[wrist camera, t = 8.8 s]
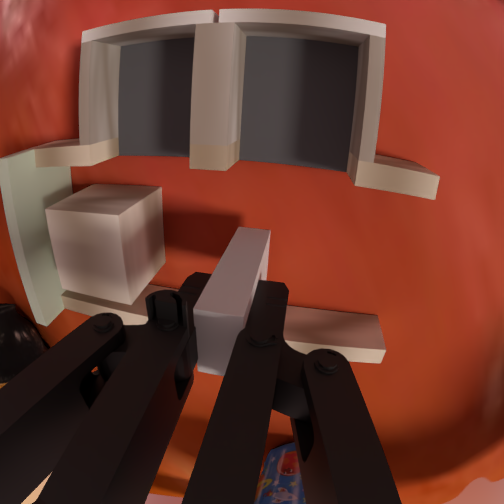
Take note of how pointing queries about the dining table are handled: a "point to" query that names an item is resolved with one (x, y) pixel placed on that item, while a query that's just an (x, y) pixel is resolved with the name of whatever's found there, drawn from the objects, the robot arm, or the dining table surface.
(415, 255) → the dining table surface
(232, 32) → the box
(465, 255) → the dining table surface
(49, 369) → the robot arm
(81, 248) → the cream block
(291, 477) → the snack cup
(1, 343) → the fried shrimp in bowl
